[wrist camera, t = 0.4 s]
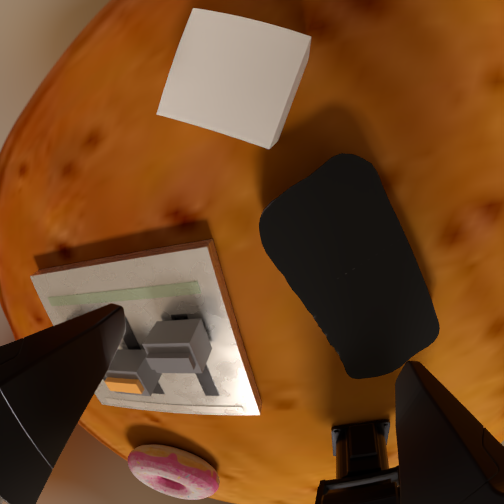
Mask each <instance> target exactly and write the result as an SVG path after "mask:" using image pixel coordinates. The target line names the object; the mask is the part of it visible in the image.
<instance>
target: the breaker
mask: <svg viewBox="0 0 504 504" xmlns="http://www.w3.org/2000/svg"><path fill="white" fill-rule="evenodd" d="M142 345H143V347H144V349H145V351H146V353H147V357H146V360H147V362H148V364H149V366H150V368H151V369H152V370H155V371H156V373H203V370H204V368H205V365H206V363H207V360H208V358H209V355H210V352H211V350H212V347H211V344H210V341H209V338H208V336H207V333H206V330H205V328H204V325H203V322H202V319H187V320H171V321H157V322H156V323H155V325H154V326H153V328H152V329H151V331H150V332H149V334H148V335H147V337H146V338H145V340H144V341H143V343H142Z"/></svg>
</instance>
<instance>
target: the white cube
mask: <svg viewBox="0 0 504 504" xmlns="http://www.w3.org/2000/svg"><path fill="white" fill-rule="evenodd" d="M310 44H311V36H308V35H305V34H302V33H299V32H296V31H292V30H289V29H286V28H283V27H279V26H276V25H272V24H268V23H265V22H261V21H257V20H253V19H249V18H244V17H240V16H235V15H231V14H226V13H221V12H215V11H210V10H204V9H198V8H193V10H192V12H191V15H190V17H189V20H188V22H187V25H186V27H185V30H184V33H183V35H182V38H181V41H180V43H179V46H178V49H177V52H176V54H175V57H174V60H173V63H172V66H171V69H170V72H169V75H168V78H167V81H166V85H165V88H164V91H163V94H162V98H161V101H160V104H159V108H158V111H157V115H161V116H165V117H168V118H172V119H176V120H179V121H183V122H186V123H190V124H193V125H196V126H200V127H203V128H206V129H210V130H213V131H216V132H219V133H222V134H225V135H228V136H232V137H235V138H238V139H241V140H244V141H247V142H249V143H252V144H255V145H258V146H261V147H264V148H267V149H270V148H271V147H272V146H273V145H274V144H275V143H277V142H278V140H279V137H280V134H281V132H282V129H283V126H284V123H285V121H286V118H287V115H288V113H289V110H290V107H291V105H292V102H293V99H294V97H295V94H296V91H297V88H298V86H299V83H300V81H301V78H302V75H303V73H304V70H305V67H306V65H307V62H308V59H309V52H310Z"/></svg>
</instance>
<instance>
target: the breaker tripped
mask: <svg viewBox="0 0 504 504" xmlns="http://www.w3.org/2000/svg"><path fill="white" fill-rule="evenodd" d="M146 357H147V353H146V351H145V350H125V349H117V351H116V353H115V356H114V358H113V360H112V362H111V365H110V367H109V369H108V371H107V372H106V374H105V377H106V380H105V381H104V382H105V383H106V385H107V386H108V388H109V390H110V391H115V393H121V394H130V395H141V396H151V394H152V393H153V391H154V389H155V387H156V385H157V383H158V381H159V379H160V377H161V375H162V373H156V371H155V370H152V369H151V368H150V366H149V364H148V362H147V360H146Z"/></svg>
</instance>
